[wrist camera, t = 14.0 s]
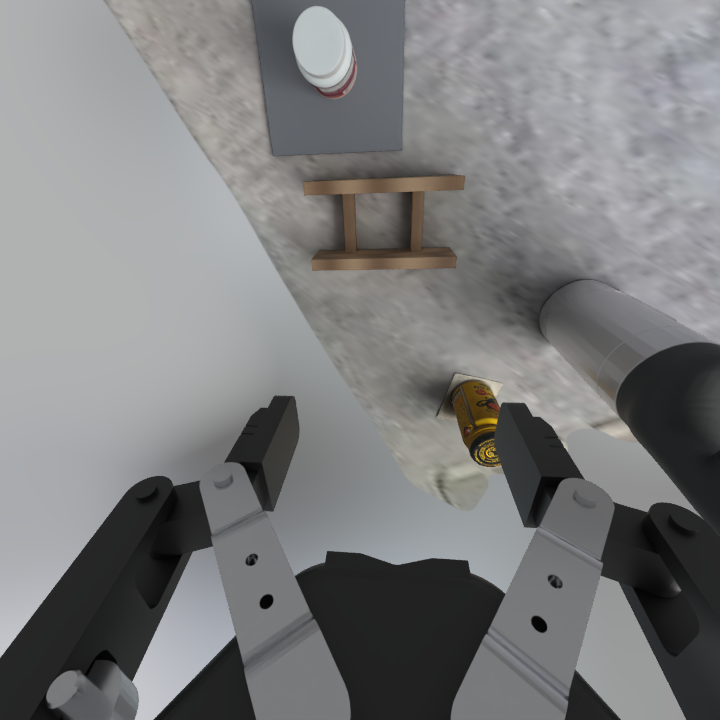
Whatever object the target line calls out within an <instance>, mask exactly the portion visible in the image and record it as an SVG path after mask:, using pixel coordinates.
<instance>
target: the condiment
mask: <svg viewBox="0 0 720 720" xmlns="http://www.w3.org/2000/svg"><path fill="white" fill-rule="evenodd" d="M502 384H503V383H499V382H495V381H491V380H486V379H482V378H477V377H473V376H467V375H462V374H457V373H455V375H454V377H453V380H452V382H451V385H450V387H449V389H448V392H447V394H446V396H445V399H444V402H443V404H442V406H441V409H440V411H439V414H438V416H437V417H438V418H445V419H450V420H456V421H458V425H459V428H460V431H461V435H462V439H463V442H464V444H465V445H466V446H467V448H468V449H469V452H470V455H471V457H472V458H473V460H474V461H475V462H477V463H478V464H479V465H482V466H486V467H495V466H499V465H501V463H500V460H499V457H498V455H497V452H496V449H495V443H494V435H495V430H496V425H497V421H498V416H499V412H500V407H499V404H498V402H497V400H496V398H495V397H496V395H497V393H498V392H499V390H500V388H501V386H502ZM451 402H452V403H451Z"/></svg>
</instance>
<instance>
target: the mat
mask: <svg viewBox="0 0 720 720" xmlns="http://www.w3.org/2000/svg"><path fill="white" fill-rule="evenodd" d="M313 6H321V7H325V8H327V9H328V10H330V11H331V12H332V13H333V14H334V15H335V16H336V17H337V18H338V19H339V20H340V21H341V22H342V23H343V24H344V26H345V27H346V29H347V31H348V33H349V36H350V39H351V43H352V47H353V50H354V54H355V58H356V63H357V74H356V79H355V82H354V85H353V86H352V88H351V90H350V91H349V92H348V93H347V94H346V95H345V96H343V97H341V98H338V99H329V98H326V97H324V96H322V95H321V94H320V93H319V92H318V91H317V90H316V89H315V88H314V87H313V86H312V85H311V84H310V83H309V82H308V81H307V80H306V79H305V77H304V76H303V75H302V73H301V72H300V70H299V67H298V65H297V61H296V57H295V53H294V49H293V42H292V37H293V29H294V26H295V23H296V21H297V19H298V17H299V16H300V14H301V13H302V12H303V11H304V10H306V9H307V8H310V7H313ZM252 7H253V14H254V21H255V28H256V35H257V42H258V50H259V57H260V64H261V71H262V78H263V85H264V93H265V100H266V107H267V114H268V121H269V128H270V136H271V143H272V150H273V156H288V155H310V154H332V153H353V152H375V151H397V150H402V119H403V72H404V25H405V0H252Z"/></svg>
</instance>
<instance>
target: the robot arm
mask: <svg viewBox="0 0 720 720" xmlns="http://www.w3.org/2000/svg"><path fill="white" fill-rule="evenodd" d="M539 325H540V330H541V332H542V334H543V335H544V337H545V338H546V339H547V340H548V341H549V342H550V343H551V344H552V346H553V347H554V348H555V349H556V350H557V351H558V352H559V353H560V354H561V355H562V356H563V357H564V359H565V360H566V361H567V362H568V363H569V364H570V365H571V366H572V367H573V368H574V369H575V370H576V371H577V372H578V373H579V375H580V376H581V377H582V378H583V379H584V380H585V381H586V382H587V383H588V384H589V385H590V386H591V387H592V388H593V389H594V391H595V392H596V393H597V394H598V395H599V396H600V397H601V398H602V399H603V400H604V401H605V402H606V403H607V404H608V405H609V406H610V407H611V408H612V410H613V411H614V412H615V413H616V414H617V415H618V416H619V417H620V418H621V419H622V420H623V421H624V422H625V424H626V425H627V426H628V427H629V429H630V430H631V432H632V434H633V435H634V436H635V438H636V439H637V440H638V441H639V442H640V444H642V446H643V447H644V448H645V449H646V450H647V451H648V452H649V454H650V455H651V456H652V457H653V458H654V459H655V461H656V462H657V463H658V464H659V465H660V467H661V468H662V469H663V470H664V471H665V473H666V474H667V475H668V476H669V478H670V479H671V480H672V481H673V483H674V484H675V485H676V486H677V488H678V489H679V490H680V491H681V493H682V494H683V495H684V496H685V498H686V499H687V500H688V501H689V502H690V504H691V505H692V506H693V507H694V509H695V510H696V511H697V512H698V513H699V514H700V516H701V517H702V518H703V519H704V520H703V519H702V518H701V517H699V516H698V515H696V514H694V513H693V512H691V511H689V510H688V509H685V508H683V507H681V506H678V505H675V504H671V503H656V504H653V505H652V506H651V507H650V509H649V511H648V512H644V511H641V510H638V509H634V508H630V507H627V506H624V505H620V504H617V503H615V502H613V501H612V499H611V497H610V496H609V495H608V494H607V493H606V492H605V491H604V490H603V489H602V488H600V487H599V486H597V485H596V484H593V483H592V482H589V481H587V480H585V479H584V478H583V476H582V475H581V473H580V471H579V470H578V468H577V466H576V465H575V463H574V462H573V460H572V459H571V457H570V455H569V454H568V452H567V450H566V449H565V448H564V446H563V444H562V442H561V441H560V439H558V436H557V434H556V433H555V431H554V430H553V428H552V426H550V425H549V424H548V423H547V422H545V421H544V420H543V419H542V418H540V417H533V416H532V414H531V413H530V411H529V409H528V407H527V406H526V404H525V403H504V402H503V403H502V404H501V407H500V412H499V416H498V421H497V425H496V430H495V435H494V443H495V449H496V452H497V455H498V457H499V460H500V463H501V466H502V468H503V471H504V474H505V476H506V479H507V482H508V484H509V487H510V490H511V492H512V495H513V498H514V501H515V503H516V506H517V509H518V511H519V514H520V517H521V519H522V522H523V525H524V527H529V528H537V530H536V532H535V534H534V536H533V538H532V540H531V542H530V544H529V546H528V548H527V550H526V552H525V555H524V557H523V559H522V561H521V563H520V565H519V567H518V569H517V571H516V573H515V576H514V578H513V580H512V582H511V584H510V586H509V588H508V590H507V592H506V594H505V593H504V592H503V591H502V590H500V589H499V588H497V587H496V586H495V585H493V584H492V583H490V582H488V581H487V580H485V579H483V578H481V577H479V576H477V575H474V574H471V573H470V570H469V564H468V561H465V560H451V559H450V560H449V559H436V558H431V559H426V560H421V561H417V562H411V563H406V564H401V565H394V564H391V563H388V562H385V561H382V560H378V559H376V558H373V557H370V556H367V555H364V554H361V553H348V552H333V551H327V555H326V561H325V563H321V564H318V565H315V566H312V567H310V568H308V569H306V570H304V571H302V572H300V573H299V574H297V575H296V576H294V574H293V571H292V569H291V567H290V565H289V562H288V560H287V558H286V556H285V553H284V551H283V549H282V547H281V544H280V542H279V540H278V538H277V536H276V533H275V531H274V529H273V527H272V524H271V522H270V520H269V518H268V515H267V513H266V511H274V508H275V505H276V502H277V499H278V497H279V494H280V491H281V488H282V485H283V482H284V480H285V477H286V474H287V471H288V468H289V466H290V462H291V460H292V457H293V454H294V451H295V448H296V446H297V443H298V439H299V422H298V414H297V408H296V401H295V397H294V396H274V397H273V399H272V401H271V403H270V405H269V407H268V408H260V409H259V410H258V411H257V412H255V413H254V414H253V415H252V416H251V417H250V419H249V421H248V423H247V424H246V427H245V428H244V430H243V431H242V433H241V435H240V436H239V438H238V440H237V441H236V443H235V445H234V447H233V448H232V450H231V452H230V454H229V455H228V457H227V459H226V460H225V462H224V463H222V464H219V465H217V466H215V467H213V468H211V469H210V470H209V471H207V472H206V473H205V474H204V476H203V477H202V479H201V480H200V481H196V482H191V483H187V484H182V485H177V486H173V483H172V481H171V480H170V479H169V478H167V477H164V476H155V477H150V478H147V479H145V480H142V481H140V482H139V483H137V484H135V485H134V486H133V487H131V488H130V489H129V490H128V491H127V492H126V493H125V495H124V496H123V497H122V499H121V500H120V501H119V503H118V504H117V505H116V507H115V508H114V509H113V511H112V512H111V513H110V514H109V516H108V517H107V518H106V520H105V521H104V522H103V524H102V525H101V526H100V528H99V529H98V530H97V532H96V533H95V534H94V536H93V537H92V538H91V539H90V541H89V542H88V543H87V545H86V546H85V547H84V549H83V550H82V551H81V553H80V554H79V555H78V557H77V558H76V559H75V560H74V562H73V563H72V564H71V566H70V567H69V569H68V570H67V571H66V572H65V574H64V575H63V576H62V578H61V579H60V580H59V582H58V583H57V584H56V585H55V587H54V588H53V589H52V591H51V592H50V593H49V595H48V596H47V597H46V599H45V600H44V601H43V603H42V604H41V605H40V607H39V608H38V609H37V610H36V612H35V613H34V614H33V616H32V617H31V619H30V620H29V621H28V622H27V624H26V625H25V626H24V628H23V629H22V630H21V632H20V633H19V634H18V635H17V637H16V638H15V639H14V641H13V642H12V643H11V645H10V646H9V647H8V649H7V650H6V651H5V653H4V654H3V655H2V656H1V658H0V720H134V719H135V716H136V713H137V709H138V702H139V698H138V691H137V688H136V687H135V685H134V684H133V683H132V681H133V679H134V677H135V674H136V672H137V670H138V668H139V666H140V664H141V661H142V659H143V657H144V655H145V653H146V651H147V649H148V646H149V644H150V642H151V640H152V638H153V636H154V633H155V631H156V629H157V627H158V625H159V623H160V621H161V619H162V616H163V614H164V612H165V610H166V608H167V606H168V603H169V601H170V599H171V597H172V595H173V593H174V591H175V589H176V586H177V584H178V582H179V580H180V578H181V576H182V573H183V571H184V569H185V567H186V565H187V563H188V561H189V559H190V556H191V554H192V552H193V551H196V550H200V549H204V548H208V547H212V546H213V547H214V551H215V556H216V559H217V563H218V567H219V571H220V575H221V579H222V582H223V587H224V590H225V594H226V598H227V602H228V606H229V610H230V614H231V617H232V621H233V625H234V629H235V633H236V636H235V637H234V638H233V639H232V640H231V641H230V642H229V643H228V644H227V645H226V646H225V647H224V648H223V649H222V650H221V651H220V652H219V653H218V654H217V655H216V656H215V657H214V658H213V659H212V660H211V661H210V662H209V663H208V665H206V667H204V668H203V669H202V671H201V672H200V673H199V674H198V675H197V676H196V677H195V678H194V679H193V680H192V681H191V682H190V683H189V684H188V685H187V686H186V687H185V688H184V689H183V690H182V691H181V692H180V693H179V694H178V695H177V696H176V697H175V698H174V699H173V700H172V701H171V702H170V703H169V704H168V706H166V707H165V708H164V710H163V711H162V712H161V713H160V714H159V715H158V716H157V717H156V718H155V719H154V720H621V719H620V718H619V717H618V716H617V715H616V714H615V713H614V712H613V710H612V709H611V708H610V707H609V706H608V705H607V704H606V703H605V702H604V701H603V699H602V698H601V697H600V696H599V695H598V694H597V693H596V692H595V691H594V690H593V688H592V687H591V686H590V685H589V684H588V683H587V682H586V681H585V680H584V679H583V678H582V676H581V675H580V674H579V673H578V672H577V671H576V670H575V668H576V664H577V660H578V656H579V653H580V649H581V646H582V642H583V637H584V634H585V630H586V627H587V623H588V620H589V616H590V612H591V608H592V605H593V601H594V597H595V594H596V590H597V586H598V582H599V579H600V575H601V576H604V577H607V578H609V579H612V580H615V581H618V582H619V584H620V586H621V588H622V590H623V592H624V594H625V596H626V598H627V600H628V602H629V604H630V606H631V608H632V610H633V612H634V614H635V616H636V618H637V620H638V622H639V624H640V626H641V628H642V630H643V632H644V635H645V637H646V638H647V640H648V643H649V645H650V647H651V649H652V651H653V653H654V655H655V657H656V659H657V661H658V663H659V665H660V667H661V669H662V671H663V673H664V675H665V677H666V679H667V681H668V683H669V685H670V687H671V689H672V691H673V693H674V695H675V697H676V699H677V702H678V704H679V706H680V708H681V710H682V712H683V714H684V716H685V718H686V720H720V344H718V343H716V342H714V341H712V340H711V339H709V338H707V337H705V336H703V335H701V334H699V333H697V332H695V331H693V330H691V329H689V328H687V327H685V326H684V325H682V324H680V323H678V322H677V321H676V320H675V319H674V318H672V317H670V316H668V315H666V314H664V313H662V312H660V311H658V310H656V309H654V308H653V307H651V306H649V305H647V304H645V303H643V302H641V301H639V300H637V299H635V298H633V297H631V296H630V295H628V294H626V293H624V292H622V291H618V290H616V289H614V288H612V287H610V286H608V285H606V284H604V283H602V282H600V281H595V280H580V281H575V282H572V283H570V284H567V285H565V286H564V287H562V288H560V289H559V290H557V291H556V292H555V293H554V294H553V295H552V296H551V297H550V298H549V299H548V300H547V301H546V303H545V305H544V306H543V308H542V311H541V314H540V319H539Z"/></svg>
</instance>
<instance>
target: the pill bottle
mask: <svg viewBox="0 0 720 720" xmlns="http://www.w3.org/2000/svg"><path fill="white" fill-rule="evenodd" d="M292 42H293V49H294V53H295V57H296V61H297V65H298V67H299V70H300V72H301V73H302V75H303V76H304V77H305V79H306V80H307V81H308V82H309V83H310V84H311V85H312V86H313V87H314V88H315V89H316V90H317V91H318V92H319V93H320V94H321V95H322V96H324V97H326V98H329V99H338V98H341V97H343V96H345V95H346V94H347V93H348V92H349V91H350V90H351V88H352V86H353V85H354V82H355V79H356V74H357V63H356V58H355V54H354V50H353V47H352V43H351V39H350V36H349V33H348V31H347V29H346V27H345V26H344V24H343V23H342V22H341V21H340V20H339V19H338V18H337V17H336V16H335V15H334V14H333V13H332V12H331V11H330V10H328V9H327V8H325V7H321V6H313V7H310V8H307V9H306V10H304V11H303V12H302V13H301V14H300V16H299V17H298V19H297V21H296V23H295V26H294V29H293V37H292Z"/></svg>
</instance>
